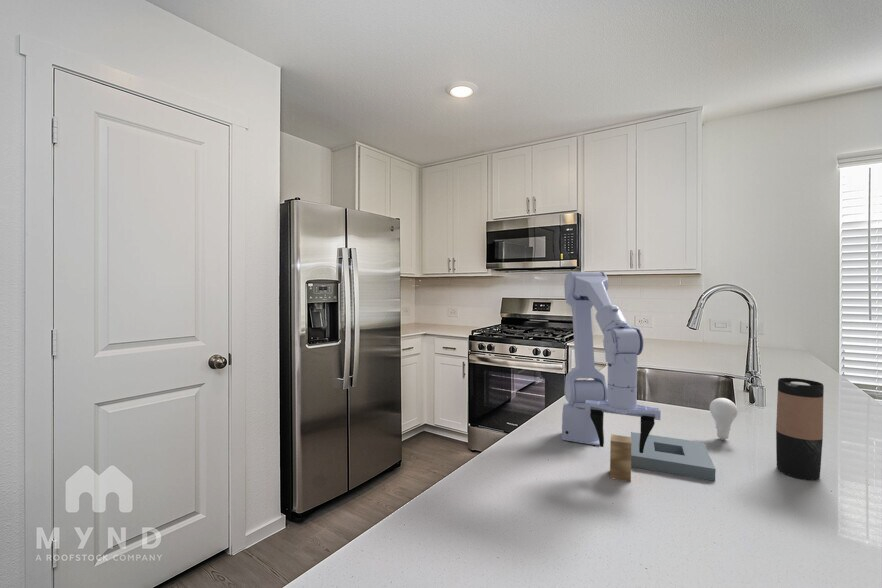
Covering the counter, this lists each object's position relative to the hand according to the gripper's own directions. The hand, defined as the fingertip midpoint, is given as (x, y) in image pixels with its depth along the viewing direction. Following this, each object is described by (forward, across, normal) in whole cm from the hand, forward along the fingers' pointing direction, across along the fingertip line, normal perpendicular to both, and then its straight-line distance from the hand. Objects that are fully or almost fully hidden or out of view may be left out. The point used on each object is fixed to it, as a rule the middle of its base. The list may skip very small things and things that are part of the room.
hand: (621, 448), depth 88 cm
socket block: (+6, +10, +14) cm, 18 cm away
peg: (+6, 0, 0) cm, 6 cm away
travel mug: (+6, +35, +18) cm, 40 cm away
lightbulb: (+6, +24, +34) cm, 42 cm away
